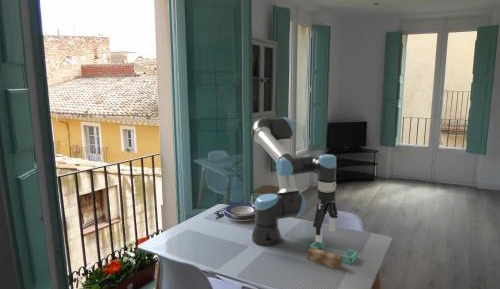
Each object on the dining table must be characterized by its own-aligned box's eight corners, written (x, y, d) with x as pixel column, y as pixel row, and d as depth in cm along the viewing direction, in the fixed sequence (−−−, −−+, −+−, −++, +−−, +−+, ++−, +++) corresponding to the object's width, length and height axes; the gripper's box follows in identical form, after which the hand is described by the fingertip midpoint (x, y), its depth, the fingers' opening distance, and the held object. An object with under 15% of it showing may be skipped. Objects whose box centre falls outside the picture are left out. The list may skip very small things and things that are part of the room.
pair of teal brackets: (309, 251, 170) (309, 245, 170) (316, 246, 176) (316, 240, 176) (351, 264, 158) (351, 258, 158) (357, 257, 164) (357, 251, 164)
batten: (307, 260, 163) (307, 249, 162) (310, 257, 166) (311, 247, 165) (338, 269, 154) (338, 259, 153) (341, 266, 157) (341, 256, 156)
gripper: (322, 198, 142) (321, 248, 145) (345, 185, 162) (344, 229, 165) (305, 195, 146) (304, 244, 150) (330, 182, 166) (329, 225, 170)
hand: (325, 236), depth 157 cm, fingers open, 13 cm apart
